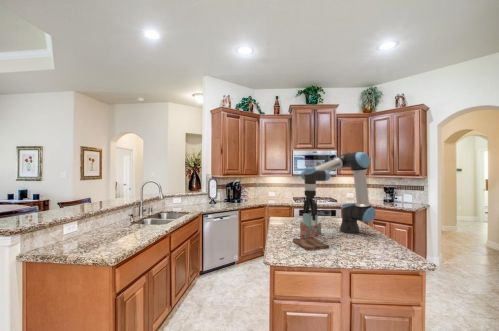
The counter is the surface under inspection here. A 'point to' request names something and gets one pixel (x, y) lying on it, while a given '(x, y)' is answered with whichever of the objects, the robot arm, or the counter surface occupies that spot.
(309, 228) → the stack of blocks
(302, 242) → the board
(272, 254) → the counter surface
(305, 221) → the cube
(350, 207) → the robot arm
